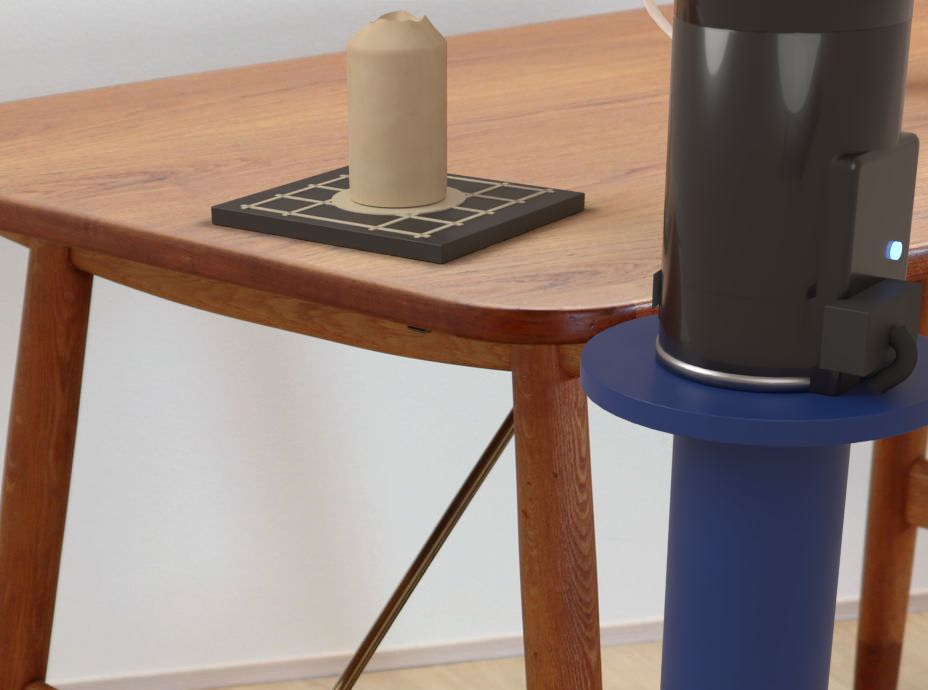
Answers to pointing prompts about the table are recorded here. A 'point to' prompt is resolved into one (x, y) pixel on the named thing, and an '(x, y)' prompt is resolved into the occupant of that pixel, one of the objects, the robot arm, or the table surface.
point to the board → (400, 215)
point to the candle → (397, 112)
